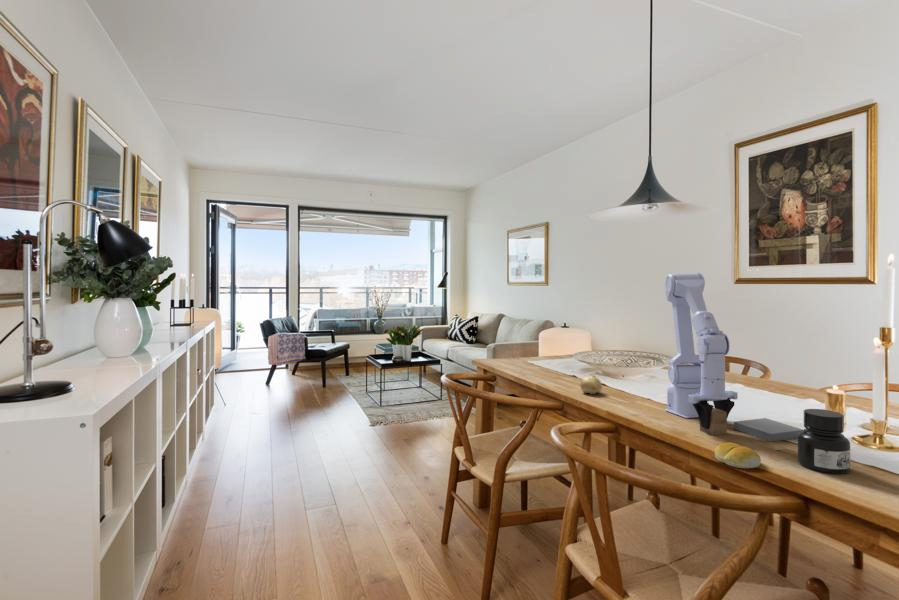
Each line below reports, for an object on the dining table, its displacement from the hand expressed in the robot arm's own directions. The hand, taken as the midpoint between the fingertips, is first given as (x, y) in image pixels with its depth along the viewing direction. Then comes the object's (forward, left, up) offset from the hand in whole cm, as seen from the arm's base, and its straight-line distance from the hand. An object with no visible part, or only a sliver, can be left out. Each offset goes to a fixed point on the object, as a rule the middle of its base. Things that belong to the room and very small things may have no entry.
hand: (713, 426), depth 124 cm
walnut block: (0, 0, -1) cm, 1 cm away
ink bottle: (+26, +4, -2) cm, 26 cm away
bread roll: (+18, -11, -2) cm, 21 cm away
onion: (-50, -7, -2) cm, 51 cm away
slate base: (+5, +13, -1) cm, 14 cm away
